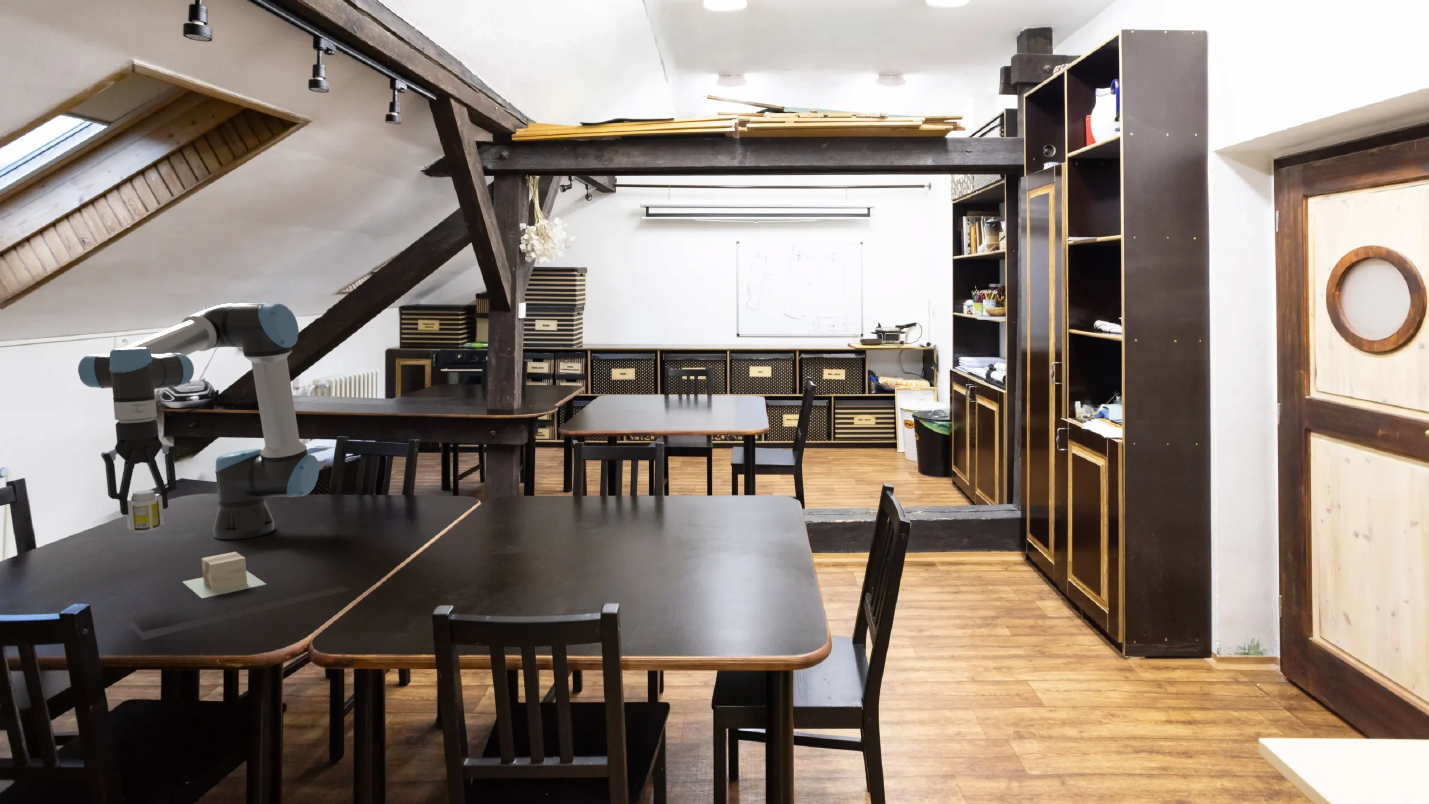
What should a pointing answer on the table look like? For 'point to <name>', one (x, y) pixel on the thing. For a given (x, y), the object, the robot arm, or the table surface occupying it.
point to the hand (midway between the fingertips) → (146, 526)
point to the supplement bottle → (145, 511)
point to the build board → (204, 591)
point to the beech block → (224, 571)
